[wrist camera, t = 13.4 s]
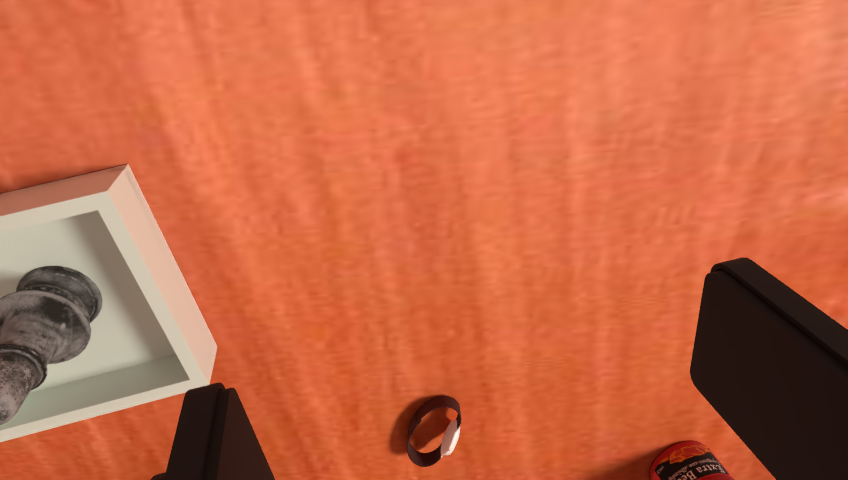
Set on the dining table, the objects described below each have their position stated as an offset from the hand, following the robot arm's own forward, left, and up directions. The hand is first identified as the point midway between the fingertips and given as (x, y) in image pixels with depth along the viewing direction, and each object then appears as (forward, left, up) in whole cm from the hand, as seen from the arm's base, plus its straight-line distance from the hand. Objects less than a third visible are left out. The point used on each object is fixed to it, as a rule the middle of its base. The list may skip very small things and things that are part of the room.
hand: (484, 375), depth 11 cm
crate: (+11, -24, -29) cm, 39 cm away
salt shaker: (+10, -24, -28) cm, 38 cm away
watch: (+34, -1, -30) cm, 45 cm away
